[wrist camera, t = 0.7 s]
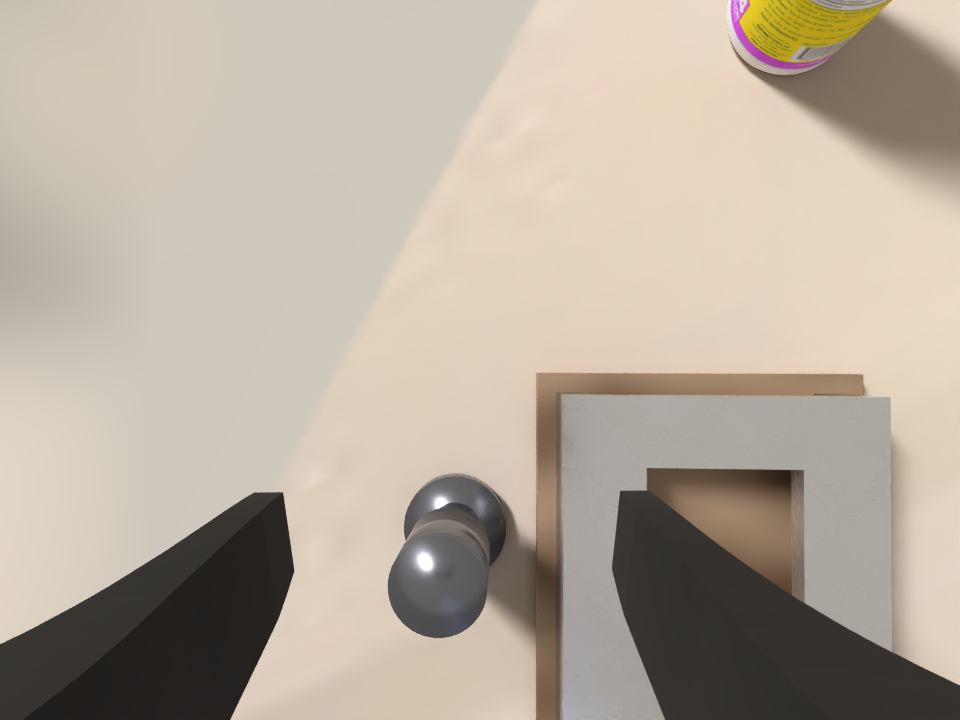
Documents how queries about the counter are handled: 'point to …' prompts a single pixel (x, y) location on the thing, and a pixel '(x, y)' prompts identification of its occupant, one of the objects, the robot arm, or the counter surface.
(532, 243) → the counter surface
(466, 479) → the dark grey knob
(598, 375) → the keyhole board
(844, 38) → the supplement bottle
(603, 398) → the keyhole plate
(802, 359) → the counter surface
